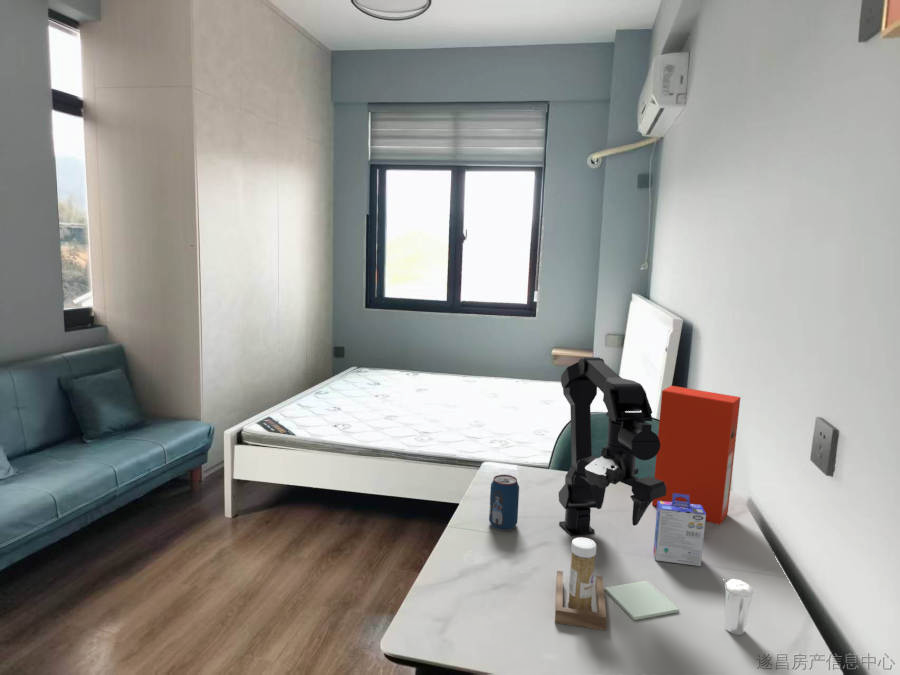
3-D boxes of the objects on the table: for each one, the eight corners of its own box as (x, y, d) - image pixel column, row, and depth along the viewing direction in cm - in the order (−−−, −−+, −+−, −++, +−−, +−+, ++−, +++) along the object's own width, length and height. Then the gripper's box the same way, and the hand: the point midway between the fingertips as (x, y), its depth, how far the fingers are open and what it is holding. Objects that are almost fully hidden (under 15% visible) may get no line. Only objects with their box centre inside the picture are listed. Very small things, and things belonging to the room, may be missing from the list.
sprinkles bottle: (590, 617, 110) (595, 550, 108) (565, 612, 111) (570, 545, 109) (592, 603, 114) (597, 538, 112) (568, 599, 116) (573, 534, 114)
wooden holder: (556, 581, 121) (557, 570, 121) (601, 588, 120) (602, 576, 119) (554, 622, 108) (555, 610, 108) (605, 630, 106) (606, 617, 106)
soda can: (516, 519, 149) (518, 474, 147) (518, 532, 142) (520, 485, 140) (488, 518, 149) (490, 473, 147) (489, 531, 142) (491, 484, 140)
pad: (604, 590, 119) (604, 587, 119) (646, 583, 122) (646, 580, 122) (634, 620, 110) (634, 617, 109) (678, 611, 113) (679, 608, 113)
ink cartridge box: (697, 554, 134) (703, 494, 132) (702, 567, 129) (709, 504, 127) (651, 549, 136) (657, 489, 134) (655, 561, 131) (660, 499, 129)
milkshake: (711, 621, 110) (717, 572, 108) (738, 621, 110) (744, 571, 109) (724, 637, 105) (730, 586, 104) (753, 637, 106) (759, 585, 104)
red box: (719, 525, 149) (733, 402, 144) (651, 505, 160) (662, 390, 155) (727, 515, 156) (740, 396, 151) (661, 496, 166) (671, 385, 161)
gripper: (560, 437, 123) (556, 509, 125) (634, 464, 108) (628, 544, 110) (596, 430, 130) (591, 498, 132) (671, 454, 115) (664, 530, 117)
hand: (616, 516), depth 122 cm, fingers open, 9 cm apart
